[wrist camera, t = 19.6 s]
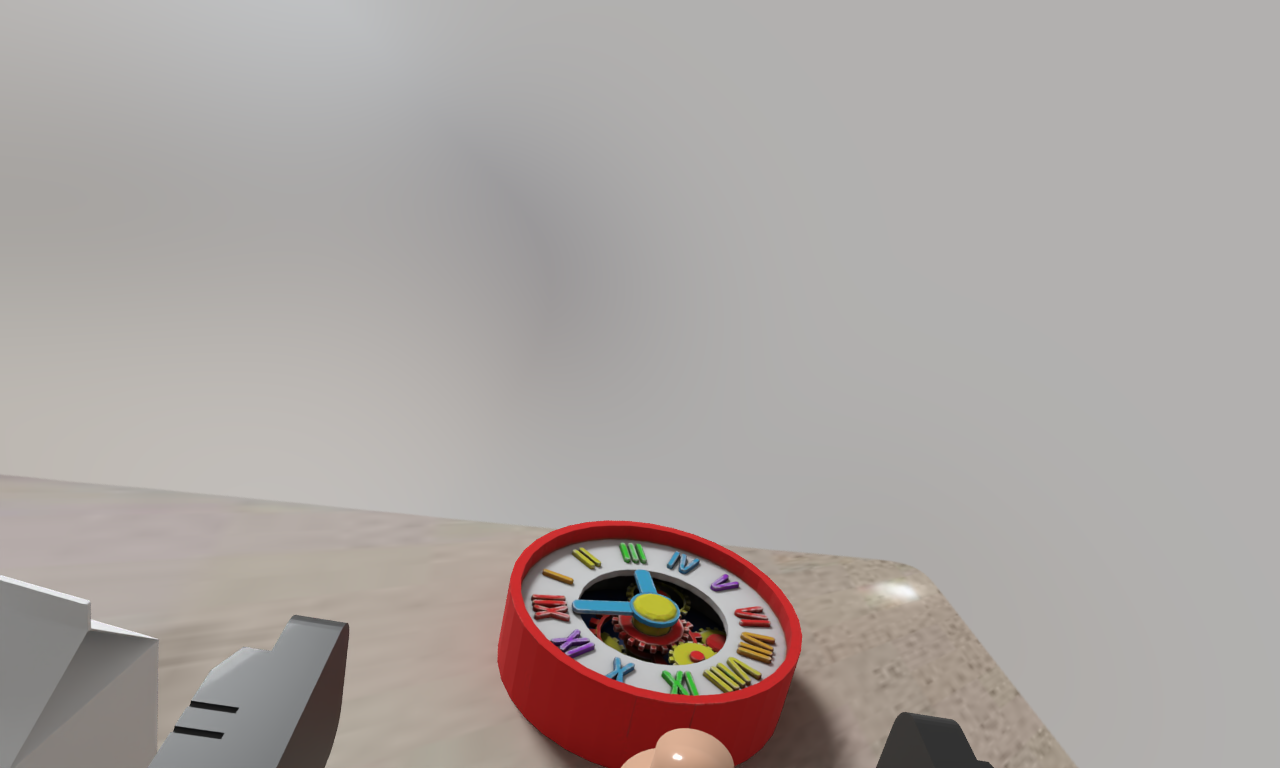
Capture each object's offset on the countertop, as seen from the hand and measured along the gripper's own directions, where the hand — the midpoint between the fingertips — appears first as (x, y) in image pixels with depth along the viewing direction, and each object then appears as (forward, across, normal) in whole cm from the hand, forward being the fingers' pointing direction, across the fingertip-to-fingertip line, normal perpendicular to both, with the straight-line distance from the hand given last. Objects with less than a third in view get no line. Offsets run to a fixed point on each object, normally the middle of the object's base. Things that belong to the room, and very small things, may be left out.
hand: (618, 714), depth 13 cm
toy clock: (+40, -8, +31) cm, 51 cm away
